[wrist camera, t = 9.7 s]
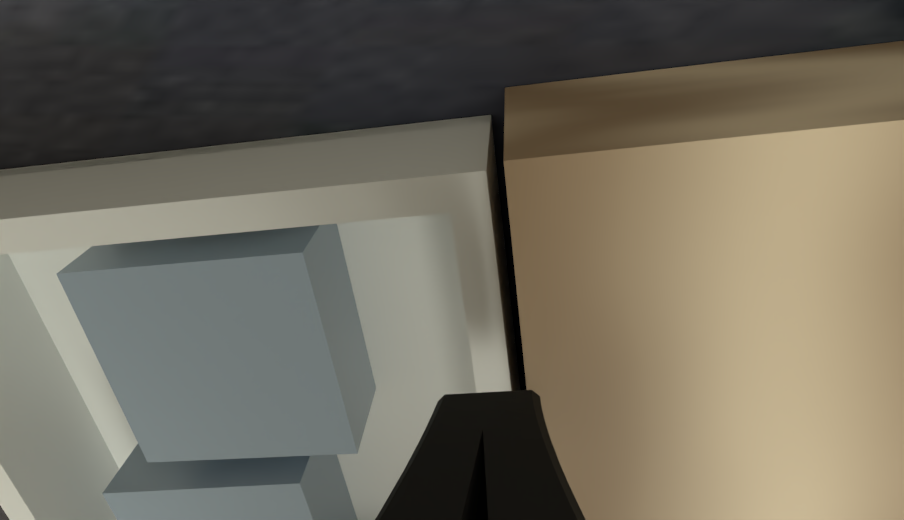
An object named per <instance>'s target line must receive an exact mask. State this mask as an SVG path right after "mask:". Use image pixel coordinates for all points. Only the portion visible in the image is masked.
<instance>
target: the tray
mask: <svg viewBox="0 0 904 520" xmlns="http://www.w3.org/2000/svg"><path fill="white" fill-rule="evenodd" d="M326 224H337V226H338V231H339V235H340V239H341V243H342V247H343V251H344V256H345V260H346V264H347V268H348V272H349V277H350V281H351V285H352V289H353V293H354V297H355V302H356V306H357V310H358V314H359V318H360V322H361V327H362V331H363V335H364V339H365V343H366V348H367V352H368V356H369V360H370V364H371V368H372V373H373V377H374V381H375V385H376V391H375V394H374V398H373V401H372V405H371V408H370V412H369V415H368V419H367V422H366V426H365V429H364V433H363V436H362V440H361V443H360V447H359V450H358V454H337V457H338V460H339V463H340V466H341V469H342V472H343V475H344V479H345V482H346V485H347V488H348V491H349V494H350V497H351V500H352V504H353V507H354V510H355V513H356V516H357V519H358V520H375V519H376V517H377V516H378V514H379V512H380V511H381V509H382V507H383V505H384V504H385V502H386V500H387V499H388V497H389V495H390V493H391V492H392V490H393V488H394V487H395V485H396V483H397V481H398V480H399V478H400V476H401V474H402V473H403V471H404V469H405V467H406V465H407V463H408V462H409V460H410V458H411V456H412V454H413V452H414V450H415V448H416V447H417V445H418V443H419V441H420V439H421V437H422V435H423V433H424V431H425V429H426V427H427V424H428V422H429V420H430V418H431V416H432V414H433V411H434V409H435V407H436V405H437V402H438V401H439V400H440V399H441V398H442V397H443V396H444V395H445V394H463V393H482V392H500V391H519V390H520V381H519V372H518V362H517V353H516V343H515V334H514V325H513V315H512V306H511V296H510V287H509V278H508V268H507V259H506V249H505V240H504V231H503V221H502V212H501V202H500V193H499V184H498V174H497V165H496V156H495V146H494V137H493V127H492V118H491V115H484V116H475V117H466V118H457V119H448V120H439V121H430V122H421V123H412V124H403V125H394V126H386V127H377V128H368V129H359V130H350V131H341V132H332V133H323V134H314V135H305V136H296V137H287V138H279V139H270V140H261V141H252V142H243V143H234V144H225V145H216V146H207V147H198V148H189V149H181V150H172V151H163V152H154V153H145V154H136V155H127V156H118V157H109V158H100V159H91V160H83V161H74V162H65V163H56V164H47V165H38V166H29V167H20V168H11V169H2V170H0V505H1V507H2V508H3V510H4V511H5V513H6V515H7V516H8V518H9V519H10V520H117V519H116V517H115V515H114V514H113V512H112V510H111V508H110V507H109V505H108V503H107V501H106V500H105V498H104V496H103V494H102V493H103V492H104V490H105V489H106V487H107V486H108V485H109V483H110V482H111V480H112V479H113V478H114V476H115V475H116V473H117V472H118V471H119V469H120V468H121V466H122V465H123V464H124V462H125V461H126V459H127V458H128V457H129V455H130V454H131V452H132V451H133V450H134V448H135V447H136V445H137V444H138V442H137V440H136V438H135V436H134V434H133V431H132V429H131V427H130V425H129V423H128V421H127V419H126V417H125V415H124V413H123V411H122V409H121V407H120V405H119V403H118V401H117V398H116V396H115V394H114V392H113V390H112V388H111V386H110V384H109V382H108V380H107V378H106V376H105V374H104V372H103V370H102V367H101V365H100V363H99V361H98V359H97V357H96V355H95V353H94V351H93V349H92V347H91V345H90V343H89V341H88V339H87V336H86V334H85V332H84V330H83V328H82V326H81V324H80V322H79V320H78V318H77V316H76V314H75V312H74V310H73V308H72V305H71V303H70V301H69V299H68V297H67V295H66V293H65V291H64V289H63V287H62V285H61V283H60V281H59V279H58V277H57V273H58V272H59V271H60V270H62V269H63V268H64V267H66V266H67V265H68V264H70V263H71V262H72V261H73V260H75V259H76V258H77V257H79V256H80V255H81V254H82V253H84V252H85V251H86V250H88V249H89V248H90V247H92V246H99V245H109V244H120V243H131V242H142V241H153V240H163V239H174V238H185V237H196V236H207V235H218V234H228V233H239V232H250V231H261V230H272V229H283V228H293V227H304V226H315V225H326Z"/></svg>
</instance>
